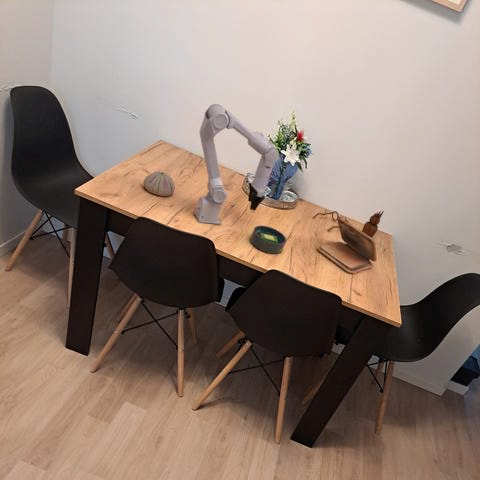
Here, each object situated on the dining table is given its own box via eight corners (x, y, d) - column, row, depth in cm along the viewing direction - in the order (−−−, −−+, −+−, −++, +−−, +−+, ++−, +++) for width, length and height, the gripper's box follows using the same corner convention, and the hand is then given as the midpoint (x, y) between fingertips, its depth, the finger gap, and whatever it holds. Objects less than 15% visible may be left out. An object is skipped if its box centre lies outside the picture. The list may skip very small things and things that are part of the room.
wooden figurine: (372, 237, 235) (387, 210, 227) (371, 241, 230) (386, 214, 222) (360, 231, 236) (374, 205, 227) (359, 235, 231) (373, 208, 222)
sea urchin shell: (174, 201, 196) (178, 183, 191) (141, 193, 192) (145, 175, 187) (173, 188, 206) (177, 171, 201) (142, 180, 202) (146, 163, 197)
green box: (257, 244, 187) (260, 237, 186) (256, 238, 191) (258, 231, 189) (276, 249, 190) (279, 242, 188) (275, 243, 193) (277, 236, 191)
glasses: (346, 231, 230) (351, 223, 227) (328, 231, 223) (332, 222, 220) (331, 218, 238) (335, 209, 235) (312, 217, 231) (316, 208, 228)
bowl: (257, 253, 183) (261, 242, 180) (245, 234, 192) (248, 224, 189) (287, 255, 189) (291, 245, 186) (273, 237, 198) (277, 227, 196)
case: (374, 267, 207) (392, 236, 198) (350, 275, 193) (368, 242, 184) (340, 243, 216) (355, 212, 207) (314, 249, 202) (329, 216, 193)
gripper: (274, 184, 181) (262, 215, 189) (269, 170, 192) (258, 200, 200) (257, 179, 179) (246, 211, 187) (253, 166, 191) (242, 196, 198)
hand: (251, 205), depth 194 cm, fingers open, 7 cm apart
